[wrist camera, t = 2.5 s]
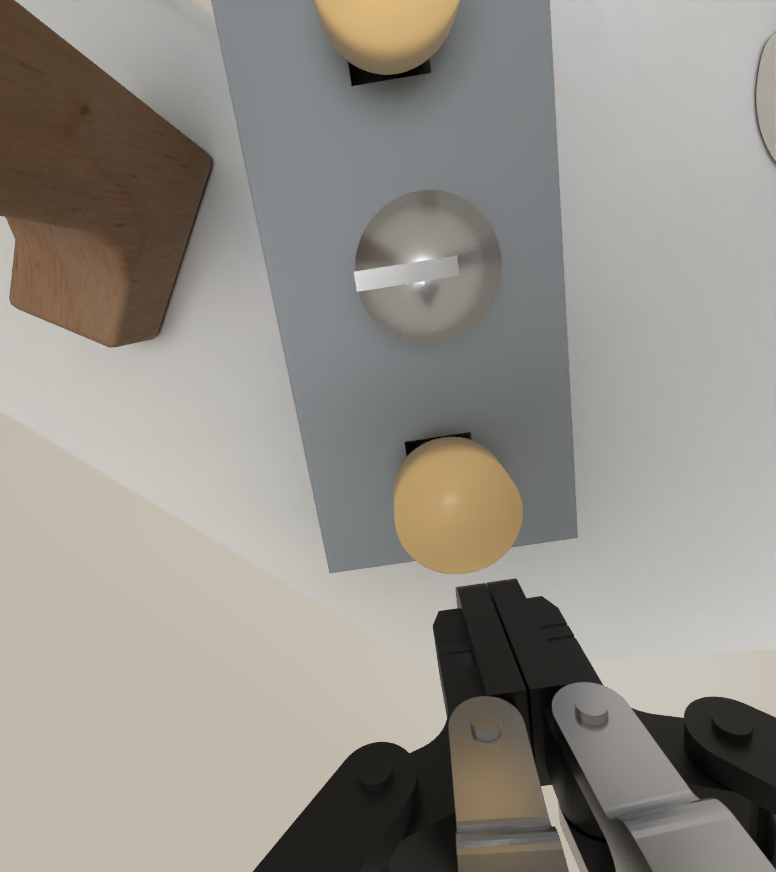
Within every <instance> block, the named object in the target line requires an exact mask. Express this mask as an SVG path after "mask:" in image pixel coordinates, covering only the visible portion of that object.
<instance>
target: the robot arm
mask: <svg viewBox="0 0 776 872" xmlns="http://www.w3.org/2000/svg"><path fill="white" fill-rule="evenodd" d="M456 598H457V606H458V608H457V609H451V610H444V611H439V612H438V614H437V617H436V619H435V622H434V624H433V631H434V638H435V645H436V653H437V660H438V667H439V674H440V680H441V686H442V692H443V696H444V703H445V708H446V714H447V721H446V724H445V726H444V728H443V730H442V731H441V733H440V734H439V735H438V736H437V737H436V738H435V739H434V740H433V741H432V742H430V743H429V744H428V745H426V746H424V747H422V748H420V749H418V750H416V751H413V752H412V753H408V752H407V751H406V750H405V749H404V748H402V747H400V746H398V745H396V744H393V743H388V742H376V743H371V744H368V745H365V746H363V747H361V748H359V749H357V750H356V751H354V752H353V753H352V754H351V755H350V756H349V757H348V758H347V759H346V760H345V761H344V762H343V764H342V765H341V766H340V767H339V768H338V770H337V771H336V772H335V773H334V774H333V776H332V777H331V778H330V779H329V780H328V782H327V783H326V784H325V785H324V787H323V788H322V789H321V790H320V791H319V793H318V794H317V795H316V796H315V797H314V799H313V800H312V801H311V802H310V803H309V805H308V806H307V807H306V808H305V809H304V811H303V812H302V813H301V814H300V815H299V817H298V818H297V819H296V820H295V821H294V823H293V824H292V825H291V826H290V827H289V829H288V830H287V831H286V832H285V833H284V835H283V836H282V837H281V838H280V839H279V841H278V842H277V843H276V844H275V846H274V847H273V848H272V849H271V850H270V852H269V853H268V854H267V855H266V856H265V858H264V859H263V860H262V861H261V862H260V864H259V865H258V866H257V867H256V869H255V870H254V871H253V872H569V871H568V867H567V863H566V859H565V856H564V852H563V848H562V845H561V841H560V838H559V835H558V832H557V830H556V828H555V827H552V826H551V823H550V820H549V817H548V813H547V809H546V805H545V801H544V798H543V793H542V789H541V786H545V785H553V788H554V791H555V793H556V796H557V799H558V805H559V819H560V824H561V827H562V830H563V833H564V835H565V837H566V840H567V842H568V844H569V846H570V849H571V851H572V854H573V856H574V858H575V860H576V863H577V865H578V867H579V870H580V872H776V718H775V717H773V716H771V715H769V714H766V713H764V712H762V711H760V710H758V709H755V708H753V707H751V706H749V705H746V704H744V703H741V702H739V701H736V700H732V699H728V698H723V697H704V698H700V699H697V700H695V701H693V702H692V703H690V705H688V707H687V708H686V710H685V714H684V718H680V717H672V716H663V715H656V714H650V713H645V712H641V711H638V710H635V709H633V708H631V707H630V706H629V704H628V703H627V702H626V701H625V699H624V698H623V697H621V696H620V695H619V694H618V693H616V692H615V691H613V690H612V689H609V688H608V687H605V686H603V684H602V683H601V681H600V679H599V677H598V676H597V674H596V672H595V670H594V669H593V667H592V665H591V664H590V662H589V660H588V658H587V657H586V655H585V653H584V652H583V650H582V648H581V646H580V645H579V643H578V641H577V640H576V638H574V634H573V633H572V631H571V629H570V628H569V626H567V622H566V621H565V619H564V617H563V616H562V614H561V612H560V610H559V609H558V608H557V607H556V606H555V605H553V604H552V603H551V602H549V601H548V600H546V599H545V598H544V597H542V596H540V597H533V598H526V597H525V595H524V593H523V591H522V589H521V587H520V585H519V583H518V581H517V579H509V580H503V581H496V582H489V583H486V584H485V583H483V584H476V585H469V586H462V587H456Z"/></svg>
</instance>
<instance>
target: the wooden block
mask: <svg viewBox="0 0 776 872" xmlns="http://www.w3.org/2000/svg"><path fill="white" fill-rule="evenodd" d="M210 168H211V156H210V155H209V154H208V153H207V152H206V151H205V150H203V149H202V148H201V147H199V146H198V145H197V144H196V143H194V142H193V141H192V140H190V139H189V138H188V137H187V136H185V135H184V134H183V133H181V132H180V131H179V130H178V129H176V128H175V127H174V126H173V125H171V124H170V123H169V122H167V121H166V120H165V119H164V118H162V117H161V116H160V115H159V114H157V113H156V112H155V111H154V110H152V109H151V108H150V107H149V106H147V105H146V104H145V103H144V102H142V101H141V100H140V99H138V98H137V97H136V96H135V95H133V94H132V93H131V92H130V91H128V90H127V89H126V88H125V87H123V86H122V85H121V84H120V83H118V82H117V81H116V80H115V79H113V78H112V77H111V76H110V75H108V74H107V73H106V72H105V71H103V70H102V69H101V68H99V67H98V66H97V65H96V64H94V63H93V62H92V61H91V60H89V59H88V58H87V57H86V56H84V55H83V54H82V53H80V52H79V51H78V50H77V49H75V48H74V47H73V46H72V45H70V44H69V43H68V42H67V41H65V40H64V39H63V38H61V37H60V36H59V35H58V34H56V33H55V32H54V31H53V30H51V29H50V28H49V27H48V26H46V25H45V24H44V23H42V22H41V21H40V20H39V19H37V18H36V17H35V16H34V15H32V14H31V13H30V12H29V11H27V10H26V9H25V8H24V7H22V6H21V5H20V4H18V3H17V2H16V1H15V0H0V216H4V217H6V219H7V221H8V223H9V226H10V228H11V230H12V233H13V235H14V237H15V250H14V259H13V269H12V278H11V288H10V297H9V298H10V302H11V304H12V305H13V306H14V307H15V308H17V309H19V310H21V311H24V312H26V313H29V314H31V315H33V316H36V317H38V318H41V319H43V320H45V321H48V322H50V323H52V324H55V325H57V326H60V327H62V328H64V329H67V330H69V331H72V332H74V333H76V334H79V335H81V336H84V337H86V338H88V339H91V340H93V341H95V342H98V343H100V344H103V345H105V346H107V347H119V346H123V345H128V344H132V343H136V342H141V341H145V340H150V339H154V338H155V336H156V335H157V334H158V331H159V328H160V325H161V322H162V319H163V316H164V312H165V309H166V306H167V303H168V300H169V297H170V294H171V290H172V287H173V284H174V281H175V278H176V275H177V272H178V269H179V265H180V262H181V259H182V256H183V253H184V250H185V247H186V243H187V240H188V237H189V234H190V231H191V228H192V224H193V221H194V218H195V215H196V212H197V209H198V205H199V202H200V199H201V196H202V193H203V190H204V187H205V183H206V180H207V177H208V174H209V171H210Z"/></svg>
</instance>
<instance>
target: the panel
mask: <svg viewBox="0 0 776 872" xmlns="http://www.w3.org/2000/svg"><path fill="white" fill-rule="evenodd" d="M211 2H212V7H213V12H214V16H215V21H216V26H217V31H218V36H219V41H220V45H221V50H222V55H223V60H224V65H225V70H226V74H227V79H228V84H229V89H230V94H231V99H232V103H233V108H234V113H235V118H236V123H237V128H238V132H239V137H240V142H241V147H242V152H243V157H244V161H245V166H246V171H247V176H248V181H249V186H250V190H251V195H252V200H253V205H254V210H255V215H256V219H257V224H258V229H259V234H260V239H261V244H262V248H263V253H264V258H265V263H266V268H267V273H268V277H269V282H270V287H271V292H272V297H273V302H274V306H275V311H276V316H277V321H278V326H279V331H280V335H281V340H282V345H283V350H284V355H285V360H286V364H287V369H288V374H289V379H290V384H291V389H292V393H293V398H294V403H295V408H296V413H297V418H298V422H299V427H300V432H301V437H302V442H303V447H304V451H305V456H306V461H307V466H308V471H309V476H310V480H311V485H312V490H313V495H314V500H315V505H316V510H317V514H318V519H319V524H320V529H321V534H322V539H323V543H324V548H325V553H326V558H327V563H328V568H329V572H330V573H335V572H342V571H349V570H356V569H363V568H370V567H377V566H384V565H390V564H397V563H404V562H411V561H416V560H414V559H413V558H412V557H411V556H410V555H409V554H408V553H407V552H406V550H405V549H404V548H403V546H402V544H401V542H400V540H399V538H398V535H397V532H396V528H395V519H394V504H393V484H394V479H395V476H396V473H397V471H398V469H399V467H400V465H401V464H402V462H403V461H404V459H405V458H406V457H407V456H406V449H405V442H407V441H414V440H420V439H427V438H434V437H440V436H447V435H454V434H460V436H461V438H466V439H469V440H473V441H475V442H477V443H479V444H481V445H483V446H484V447H486V448H487V449H488V450H489V451H491V452H492V453H493V454H494V456H495V457H496V458H497V459H498V461H499V462H500V464H501V465H502V466H503V468H504V469H505V471H506V472H507V474H508V475H509V477H510V478H511V479H512V481H513V482H514V484H515V485H516V487H517V489H518V491H519V494H520V497H521V500H522V507H523V518H522V524H521V528H520V531H519V534H518V536H517V538H516V540H515V542H514V543H513V545H512V546H511V547H516V546H523V545H530V544H537V543H544V542H551V541H558V540H565V539H572V538H578V534H577V515H576V496H575V477H574V458H573V439H572V420H571V400H570V381H569V362H568V343H567V324H566V305H565V286H564V267H563V248H562V228H561V209H560V190H559V171H558V152H557V133H556V114H555V95H554V76H553V56H552V37H551V18H550V0H460V3H459V7H458V10H457V14H456V17H455V20H454V23H453V26H452V28H451V30H450V32H449V34H448V36H447V38H446V39H445V41H444V42H443V44H442V45H441V46H440V48H439V49H438V50H437V51H436V52H435V53H434V54H433V55H432V56H431V57H430V58H429V59H428V60H427V61H425V62H424V63H423V64H421V65H419V66H418V74H419V75H416V76H410V77H404V78H398V79H392V80H386V81H380V82H374V83H368V84H362V85H356V86H351V79H350V72H349V65H348V61H347V60H346V59H344V58H343V57H342V56H341V55H340V54H339V53H338V52H337V51H336V50H335V49H334V47H333V46H332V45H331V44H330V42H329V41H328V39H327V37H326V36H325V34H324V32H323V30H322V28H321V26H320V23H319V20H318V17H317V14H316V11H315V6H314V2H313V0H211ZM421 190H440V191H445V192H449V193H452V194H455V195H458V196H460V197H461V198H463V199H465V200H467V201H468V202H470V203H471V204H473V205H474V206H475V207H476V208H477V209H478V210H479V211H480V212H481V213H482V214H483V215H484V216H485V217H486V219H487V220H488V221H489V223H490V225H491V226H492V228H493V230H494V232H495V234H496V237H497V239H498V243H499V246H500V250H501V257H502V274H501V281H500V285H499V289H498V292H497V295H496V298H495V300H494V302H493V304H492V306H491V308H490V309H489V311H488V312H487V314H486V315H485V316H484V317H483V319H482V320H481V321H480V322H479V323H478V324H477V325H476V326H475V327H474V328H472V329H471V330H470V331H468V332H467V333H465V334H464V335H462V336H460V337H458V338H456V339H454V340H451V341H448V342H445V343H440V344H433V345H419V344H413V343H409V342H406V341H402V340H400V339H398V338H396V337H394V336H392V335H390V334H389V333H387V332H386V331H384V330H383V329H382V328H381V327H380V326H378V325H377V324H376V322H375V321H374V320H373V319H372V318H371V317H370V315H369V314H368V312H367V311H366V309H365V307H364V305H363V304H362V302H361V299H360V296H359V294H358V292H357V289H356V283H355V277H354V272H355V258H356V251H357V248H358V244H359V241H360V239H361V236H362V234H363V232H364V230H365V228H366V227H367V225H368V223H369V222H370V221H371V219H372V218H373V217H374V216H375V214H377V213H378V212H379V211H380V210H381V209H382V208H383V207H384V206H385V205H387V204H388V203H389V202H391V201H393V200H394V199H396V198H398V197H400V196H402V195H405V194H407V193H411V192H415V191H421Z"/></svg>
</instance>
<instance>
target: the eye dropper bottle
mask: <svg viewBox="0 0 776 872" xmlns="http://www.w3.org/2000/svg"><path fill="white" fill-rule="evenodd" d="M756 106H757V116H758V121H759V126H760V130H761V133H762V136H763V139H764V142H765V144H766V146H767V148H768V150H769V152H770V154H771V156H772V157H773V159H774V160H775V161H776V32H775V33H774V34H773V35H772V36H771V37H770V39H769V40H768V42H767V44H766V45H765V47H764V50H763V54H762V57H761V62H760V66H759V71H758V78H757V88H756Z"/></svg>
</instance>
